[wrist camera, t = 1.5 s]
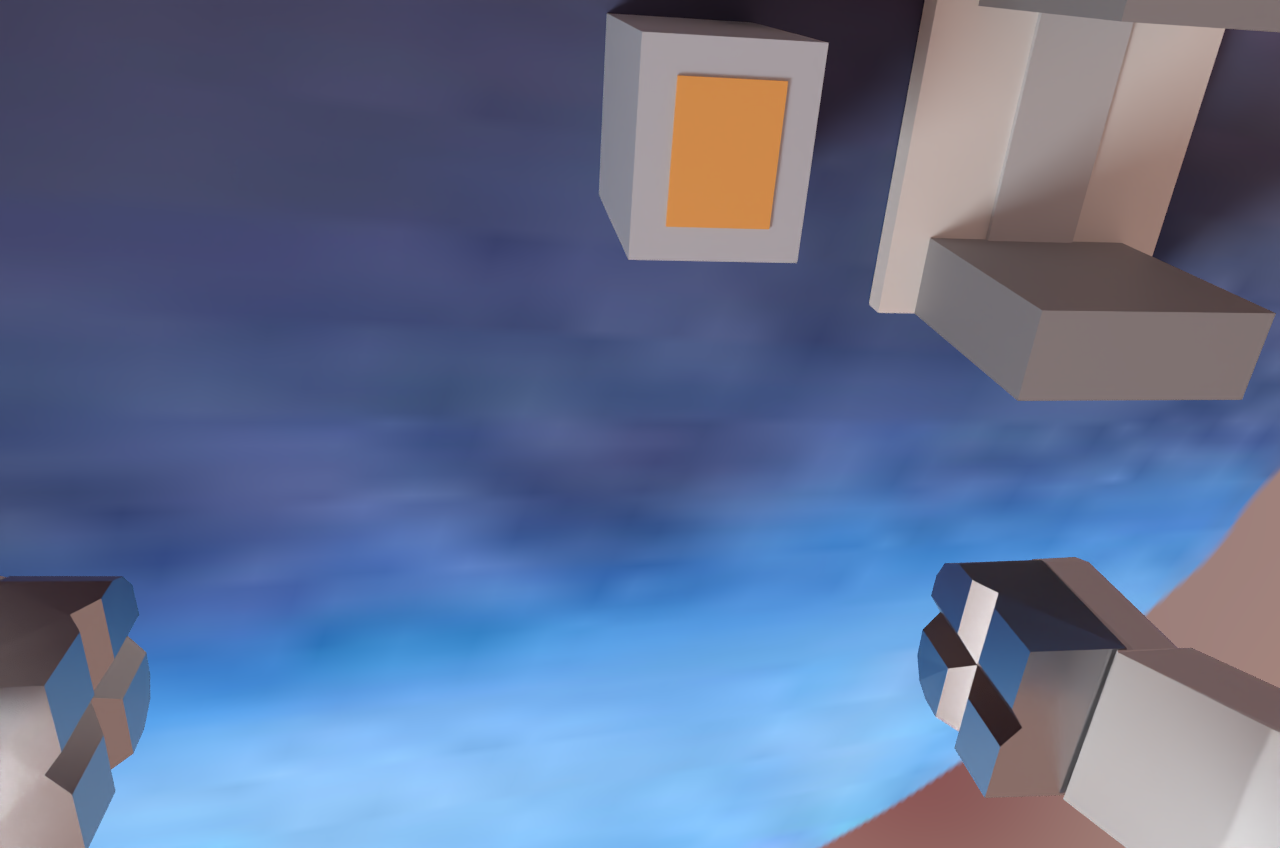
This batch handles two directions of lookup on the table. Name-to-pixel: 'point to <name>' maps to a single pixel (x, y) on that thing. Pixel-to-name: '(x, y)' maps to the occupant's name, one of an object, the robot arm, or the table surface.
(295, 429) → the table surface
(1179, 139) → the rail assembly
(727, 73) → the block
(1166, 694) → the robot arm
